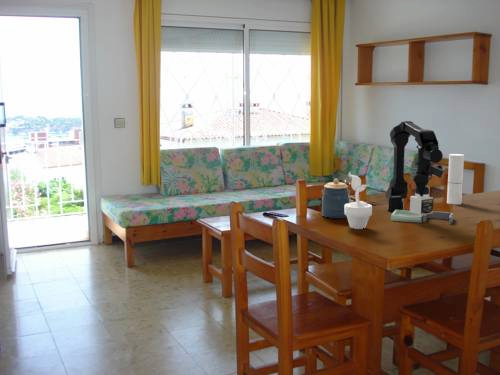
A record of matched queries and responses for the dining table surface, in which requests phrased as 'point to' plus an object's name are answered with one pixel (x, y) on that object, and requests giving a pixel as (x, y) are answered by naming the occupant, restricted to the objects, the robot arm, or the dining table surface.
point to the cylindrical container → (455, 178)
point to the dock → (439, 216)
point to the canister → (335, 199)
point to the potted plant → (357, 206)
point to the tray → (406, 216)
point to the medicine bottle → (421, 202)
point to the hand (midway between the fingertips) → (422, 194)
